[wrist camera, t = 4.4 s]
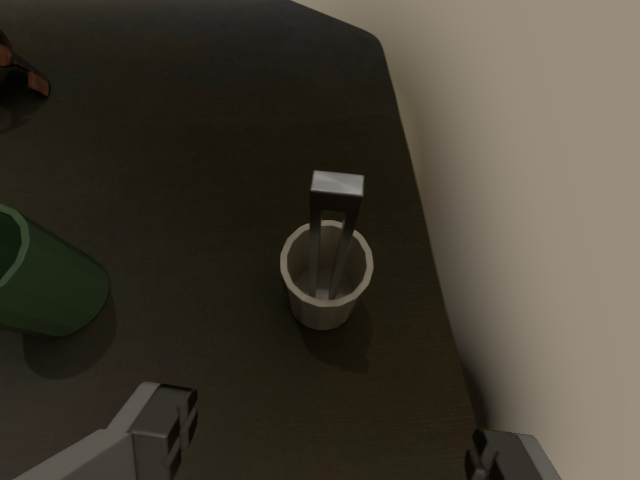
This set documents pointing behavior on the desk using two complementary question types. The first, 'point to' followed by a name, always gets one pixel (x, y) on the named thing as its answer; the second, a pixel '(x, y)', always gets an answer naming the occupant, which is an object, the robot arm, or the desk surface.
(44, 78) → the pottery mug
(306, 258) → the cream cup
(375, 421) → the desk surface
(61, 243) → the green cup
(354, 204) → the grey piece
